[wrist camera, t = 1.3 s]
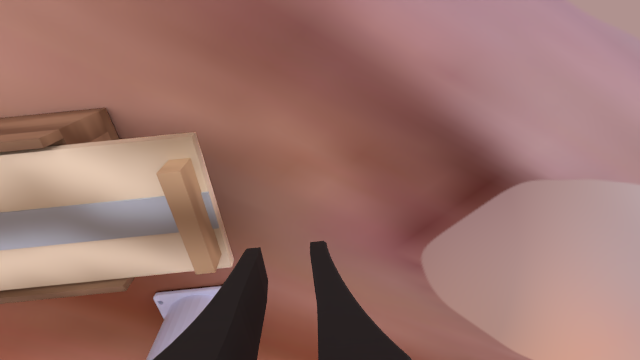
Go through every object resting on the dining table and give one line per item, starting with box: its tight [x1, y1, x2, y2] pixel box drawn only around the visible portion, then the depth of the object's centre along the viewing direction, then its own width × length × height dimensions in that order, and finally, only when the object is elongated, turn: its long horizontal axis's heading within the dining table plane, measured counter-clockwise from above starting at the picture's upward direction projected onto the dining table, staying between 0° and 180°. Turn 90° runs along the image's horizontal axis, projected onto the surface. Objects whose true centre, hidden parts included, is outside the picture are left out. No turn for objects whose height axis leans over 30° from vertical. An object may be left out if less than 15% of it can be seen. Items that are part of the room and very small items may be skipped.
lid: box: [0, 132, 234, 291], centre depth 18 cm, size 9×16×2 cm, turn 95°
